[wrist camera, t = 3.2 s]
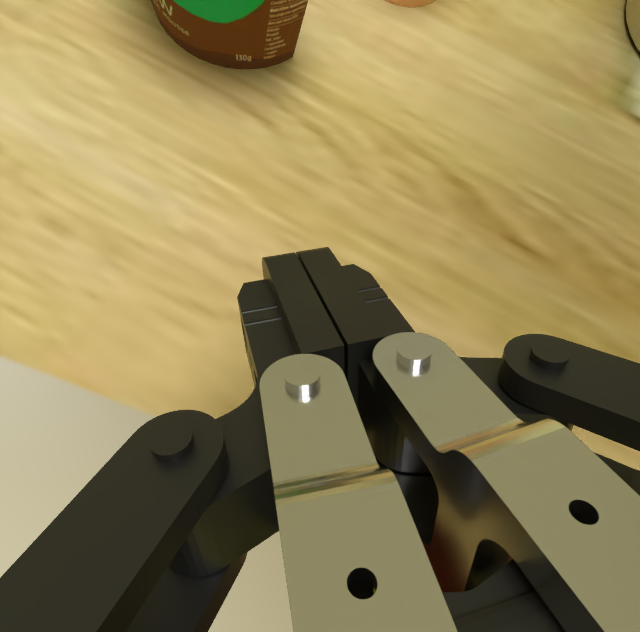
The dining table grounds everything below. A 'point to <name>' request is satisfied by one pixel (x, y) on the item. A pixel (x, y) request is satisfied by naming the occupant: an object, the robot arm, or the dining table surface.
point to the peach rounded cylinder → (410, 2)
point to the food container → (234, 29)
